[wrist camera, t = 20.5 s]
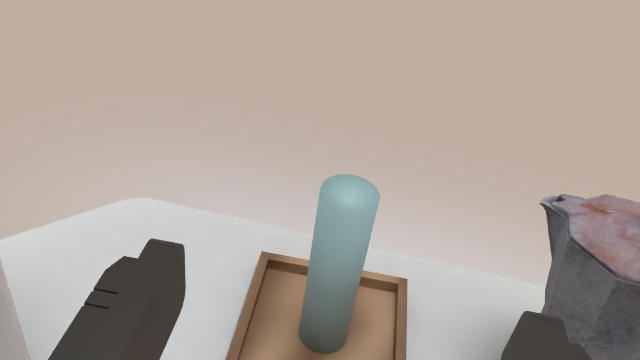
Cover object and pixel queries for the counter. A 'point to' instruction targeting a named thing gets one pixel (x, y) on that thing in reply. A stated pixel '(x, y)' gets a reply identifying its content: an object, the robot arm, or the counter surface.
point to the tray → (286, 307)
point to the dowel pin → (336, 260)
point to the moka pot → (595, 273)
